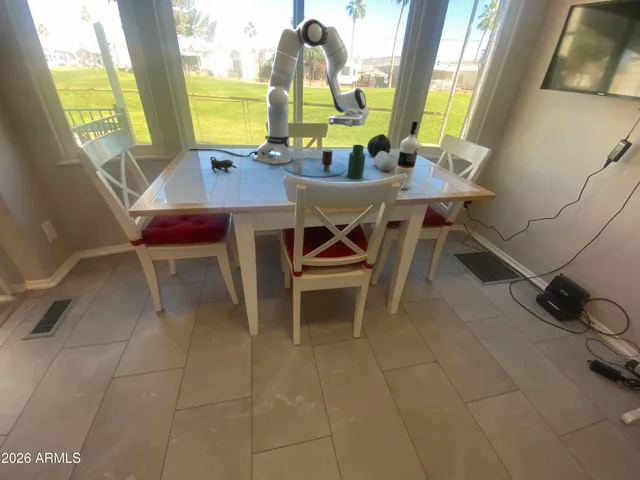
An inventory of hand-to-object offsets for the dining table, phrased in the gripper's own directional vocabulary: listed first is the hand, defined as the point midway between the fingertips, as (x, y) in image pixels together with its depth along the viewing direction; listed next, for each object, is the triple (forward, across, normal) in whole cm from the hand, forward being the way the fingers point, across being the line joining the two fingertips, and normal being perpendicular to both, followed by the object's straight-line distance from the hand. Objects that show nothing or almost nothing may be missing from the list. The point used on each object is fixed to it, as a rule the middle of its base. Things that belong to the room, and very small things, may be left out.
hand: (338, 123), depth 145 cm
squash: (-36, +8, +28) cm, 46 cm away
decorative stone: (-13, +22, +27) cm, 37 cm away
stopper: (+13, -1, +22) cm, 25 cm away
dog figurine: (+50, -39, +14) cm, 66 cm away
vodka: (+8, +40, +26) cm, 48 cm away
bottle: (+12, +16, +23) cm, 31 cm away
